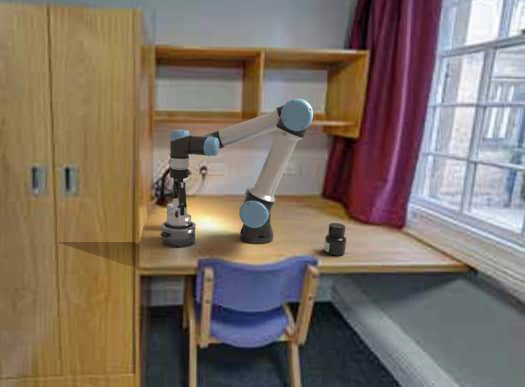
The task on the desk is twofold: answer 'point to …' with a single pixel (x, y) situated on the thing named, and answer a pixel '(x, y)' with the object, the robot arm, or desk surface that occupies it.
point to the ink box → (170, 209)
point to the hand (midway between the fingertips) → (178, 217)
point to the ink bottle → (335, 240)
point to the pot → (178, 236)
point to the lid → (173, 221)
